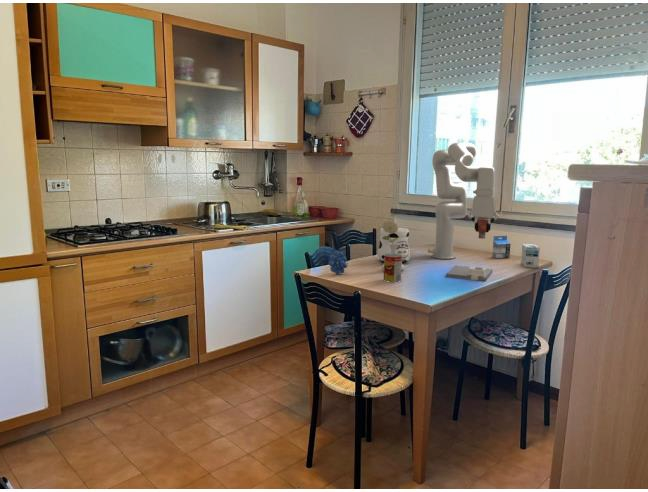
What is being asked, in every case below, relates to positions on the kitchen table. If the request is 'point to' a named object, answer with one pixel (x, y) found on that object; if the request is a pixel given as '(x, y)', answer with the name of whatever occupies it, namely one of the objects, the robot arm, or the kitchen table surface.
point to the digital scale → (466, 273)
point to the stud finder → (477, 271)
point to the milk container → (402, 240)
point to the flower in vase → (390, 228)
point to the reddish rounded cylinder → (482, 227)
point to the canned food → (392, 267)
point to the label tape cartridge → (501, 247)
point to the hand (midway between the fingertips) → (482, 231)
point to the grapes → (338, 262)
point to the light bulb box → (530, 255)
